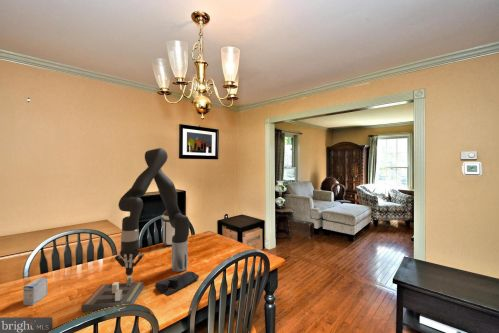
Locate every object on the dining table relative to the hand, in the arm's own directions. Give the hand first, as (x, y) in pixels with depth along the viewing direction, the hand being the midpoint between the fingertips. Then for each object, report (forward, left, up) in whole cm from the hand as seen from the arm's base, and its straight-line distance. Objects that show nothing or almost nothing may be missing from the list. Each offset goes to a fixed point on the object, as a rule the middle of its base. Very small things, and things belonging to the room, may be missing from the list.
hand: (129, 274), depth 108 cm
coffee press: (-7, -73, -11) cm, 75 cm away
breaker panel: (+6, 0, -11) cm, 13 cm away
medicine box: (+42, -3, -11) cm, 44 cm away
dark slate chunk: (-21, -11, -12) cm, 26 cm away
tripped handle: (+6, 0, -8) cm, 10 cm away
